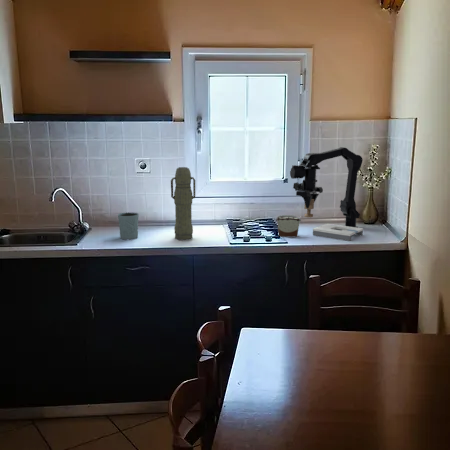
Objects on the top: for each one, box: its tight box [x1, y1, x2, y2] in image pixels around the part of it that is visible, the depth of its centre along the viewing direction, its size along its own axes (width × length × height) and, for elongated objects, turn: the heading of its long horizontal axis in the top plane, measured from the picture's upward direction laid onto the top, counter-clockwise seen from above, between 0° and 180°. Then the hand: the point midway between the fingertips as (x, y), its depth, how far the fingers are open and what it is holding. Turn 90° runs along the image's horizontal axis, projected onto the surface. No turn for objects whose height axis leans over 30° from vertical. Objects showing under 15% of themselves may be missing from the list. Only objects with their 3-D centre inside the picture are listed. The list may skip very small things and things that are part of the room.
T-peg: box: [304, 199, 315, 218], centre depth 279 cm, size 4×4×9 cm
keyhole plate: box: [312, 223, 364, 242], centre depth 271 cm, size 16×20×4 cm
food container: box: [276, 214, 302, 238], centre depth 270 cm, size 12×6×10 cm, turn 84°
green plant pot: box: [117, 212, 140, 241], centre depth 263 cm, size 10×10×12 cm
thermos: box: [170, 166, 196, 241], centre depth 260 cm, size 9×12×35 cm
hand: (309, 207), depth 279 cm, fingers closed on T-peg, 3 cm apart
